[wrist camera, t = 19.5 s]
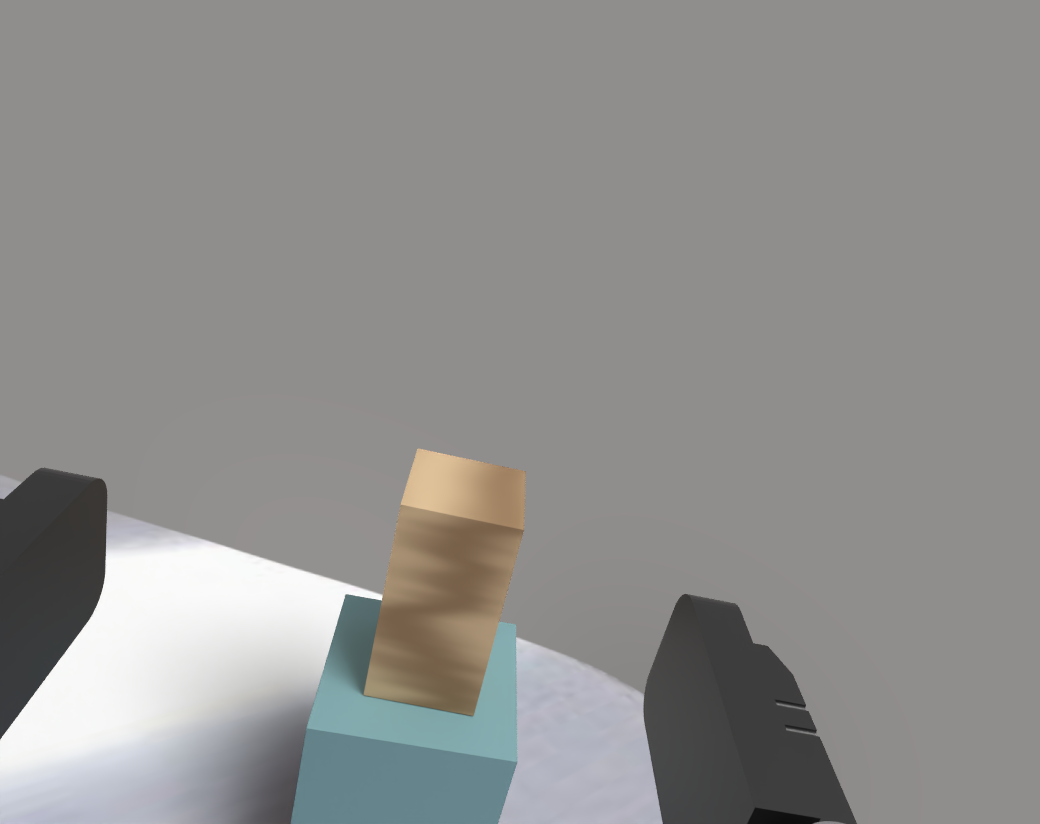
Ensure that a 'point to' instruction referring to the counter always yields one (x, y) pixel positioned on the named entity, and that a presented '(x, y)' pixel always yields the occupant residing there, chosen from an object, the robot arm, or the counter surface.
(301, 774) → the teal top block
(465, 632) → the oak block
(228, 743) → the counter surface
